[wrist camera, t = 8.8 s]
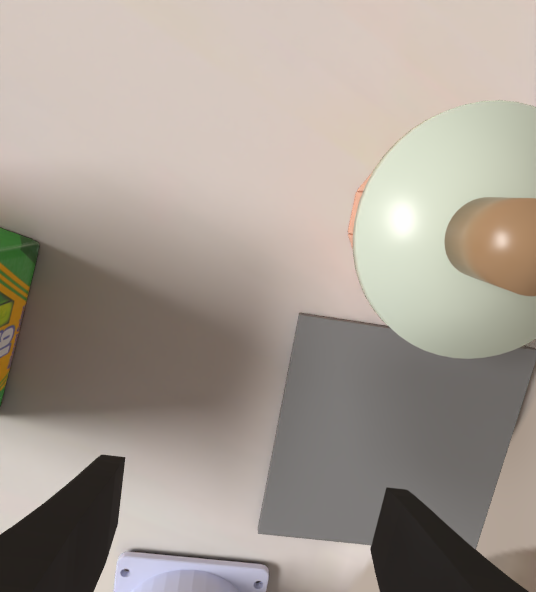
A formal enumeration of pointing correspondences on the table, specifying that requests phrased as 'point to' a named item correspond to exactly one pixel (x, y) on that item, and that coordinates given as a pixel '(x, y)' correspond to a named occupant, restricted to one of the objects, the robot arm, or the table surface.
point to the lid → (454, 232)
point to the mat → (387, 431)
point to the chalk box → (13, 293)
